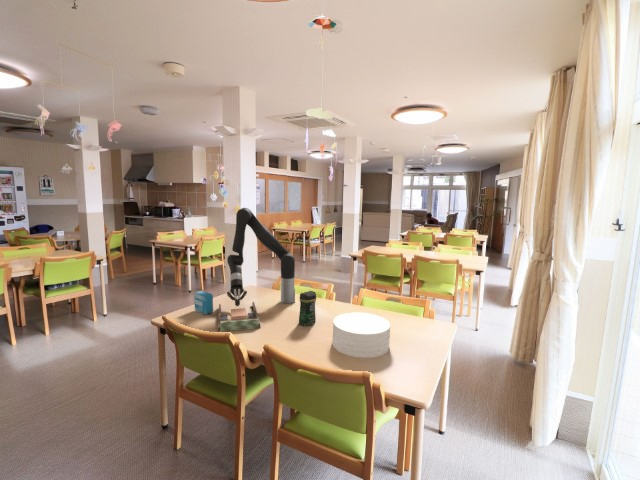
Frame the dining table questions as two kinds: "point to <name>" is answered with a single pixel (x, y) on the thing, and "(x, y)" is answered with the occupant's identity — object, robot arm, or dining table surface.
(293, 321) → the dining table surface
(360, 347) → the plate stack
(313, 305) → the coffee jar
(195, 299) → the data package
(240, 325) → the lane rails
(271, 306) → the dining table surface
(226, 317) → the pads
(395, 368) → the dining table surface
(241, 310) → the terracotta block
